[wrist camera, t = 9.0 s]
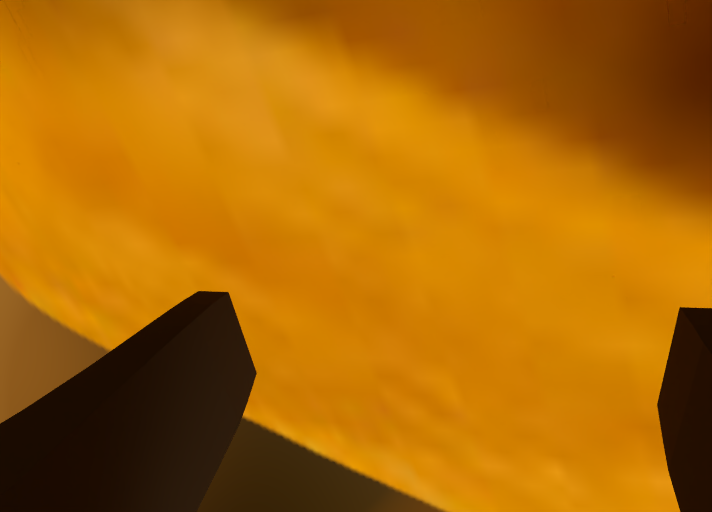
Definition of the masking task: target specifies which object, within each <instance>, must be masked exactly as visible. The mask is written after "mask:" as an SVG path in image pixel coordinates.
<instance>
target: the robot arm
mask: <svg viewBox="0 0 712 512" xmlns="http://www.w3.org/2000/svg"><path fill="white" fill-rule="evenodd" d="M256 374H257V373H256V370H255V367H254V364H253V361H252V358H251V356H250V353H249V350H248V347H247V344H246V341H245V338H244V336H243V333H242V330H241V327H240V324H239V321H238V318H237V316H236V313H235V310H234V307H233V304H232V301H231V298H230V295H229V293H228V292H208V291H198V292H196V293H195V294H193V295H192V296H190V297H188V298H187V299H185V300H183V301H182V302H180V303H179V304H177V305H176V306H174V307H173V308H171V309H170V310H169V311H167V312H166V313H164V314H163V315H161V316H160V317H159V318H157V319H156V320H154V321H153V322H151V323H150V324H149V325H147V326H146V327H144V328H143V329H142V330H140V331H139V332H137V333H136V334H135V335H133V336H132V337H130V338H129V339H127V340H126V341H125V342H123V343H122V344H120V345H119V346H117V347H116V348H115V349H113V350H112V351H110V352H109V353H108V354H106V355H105V356H103V357H102V358H100V359H99V360H98V361H96V362H95V363H93V364H92V365H90V366H89V367H88V368H86V369H85V370H83V371H81V372H80V373H79V374H77V375H76V376H74V377H73V378H71V379H70V380H68V381H66V382H65V383H63V384H62V385H60V386H59V387H57V388H56V389H54V390H53V391H51V392H50V393H48V394H47V395H45V396H44V397H42V398H41V399H39V400H37V401H36V402H34V403H33V404H32V405H30V406H28V407H27V408H25V409H24V410H22V411H21V412H19V413H17V414H15V415H14V416H12V417H11V418H9V419H7V420H6V421H4V422H2V423H1V424H0V512H196V511H197V510H198V508H199V506H200V503H201V502H202V500H203V498H204V496H205V494H206V491H207V490H208V487H209V485H210V483H211V482H212V480H213V478H214V476H215V474H216V471H217V470H218V468H219V465H220V464H221V461H222V459H223V457H224V455H225V453H226V451H227V449H228V447H229V445H230V443H231V441H232V439H233V437H234V435H235V433H236V430H237V428H238V426H239V424H240V421H241V418H242V416H243V413H244V410H245V407H246V404H247V402H248V399H249V396H250V392H251V389H252V386H253V383H254V380H255V377H256ZM657 406H658V413H659V419H660V425H661V431H662V438H663V444H664V449H665V455H666V460H667V466H668V471H669V474H670V478H671V481H672V485H673V488H674V492H675V495H676V498H677V502H678V505H679V508H680V512H712V308H683V307H680V309H679V313H678V317H677V321H676V326H675V330H674V334H673V339H672V343H671V347H670V352H669V356H668V360H667V365H666V369H665V373H664V378H663V382H662V386H661V391H660V395H659V399H658V404H657Z"/></svg>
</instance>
